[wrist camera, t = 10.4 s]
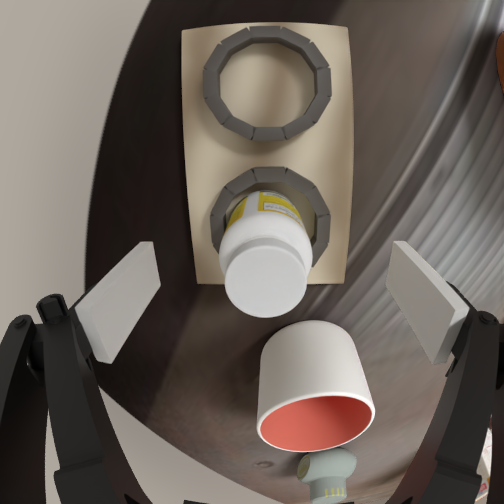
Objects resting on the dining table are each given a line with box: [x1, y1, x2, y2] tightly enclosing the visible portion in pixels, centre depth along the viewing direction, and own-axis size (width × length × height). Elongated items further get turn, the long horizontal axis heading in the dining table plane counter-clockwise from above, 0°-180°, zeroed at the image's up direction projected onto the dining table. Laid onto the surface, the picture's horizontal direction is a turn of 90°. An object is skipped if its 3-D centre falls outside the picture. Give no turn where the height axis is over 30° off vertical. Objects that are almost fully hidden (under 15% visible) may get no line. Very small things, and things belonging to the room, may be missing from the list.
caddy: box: [182, 22, 354, 284], centre depth 20 cm, size 13×22×2 cm, turn 2°
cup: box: [257, 320, 375, 452], centre depth 24 cm, size 10×10×10 cm
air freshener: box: [297, 448, 356, 504], centre depth 34 cm, size 11×8×10 cm
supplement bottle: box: [219, 190, 313, 318], centre depth 18 cm, size 5×5×10 cm
